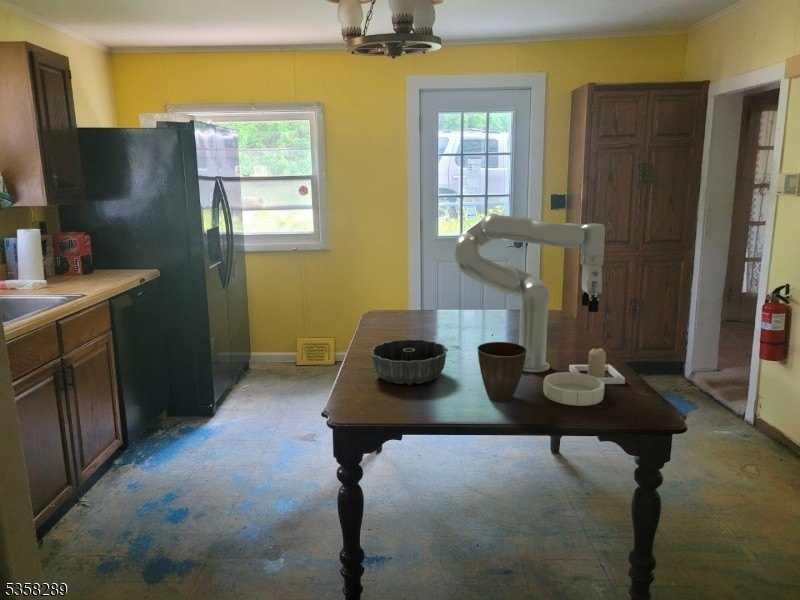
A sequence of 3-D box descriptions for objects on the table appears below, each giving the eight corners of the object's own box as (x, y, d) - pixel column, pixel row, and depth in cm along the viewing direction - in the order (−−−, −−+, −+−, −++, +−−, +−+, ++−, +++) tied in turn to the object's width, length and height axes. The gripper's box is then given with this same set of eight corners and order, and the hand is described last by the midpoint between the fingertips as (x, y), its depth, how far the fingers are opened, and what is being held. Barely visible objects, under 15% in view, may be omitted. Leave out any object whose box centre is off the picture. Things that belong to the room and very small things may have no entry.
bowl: (578, 410, 172) (579, 396, 171) (531, 392, 186) (532, 379, 185) (615, 396, 182) (616, 383, 181) (568, 380, 196) (568, 368, 195)
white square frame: (624, 383, 193) (625, 378, 193) (581, 384, 193) (581, 378, 193) (609, 369, 207) (609, 364, 207) (569, 369, 207) (569, 364, 207)
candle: (600, 373, 203) (602, 346, 201) (606, 379, 198) (608, 350, 196) (585, 374, 203) (586, 346, 201) (590, 379, 198) (592, 351, 195)
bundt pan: (357, 384, 196) (356, 355, 194) (390, 361, 219) (390, 335, 217) (430, 395, 185) (430, 365, 183) (457, 370, 209) (457, 343, 206)
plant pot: (534, 397, 182) (536, 348, 179) (506, 411, 172) (507, 359, 168) (495, 385, 192) (496, 339, 189) (466, 397, 182) (467, 348, 179)
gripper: (609, 263, 191) (607, 314, 195) (596, 256, 208) (594, 303, 212) (586, 263, 192) (584, 314, 196) (575, 256, 209) (573, 303, 212)
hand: (589, 308), depth 204 cm, fingers open, 9 cm apart
